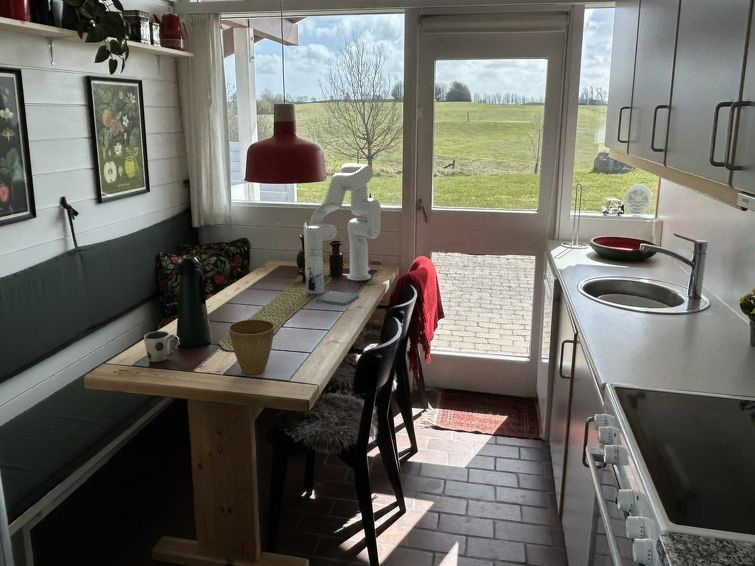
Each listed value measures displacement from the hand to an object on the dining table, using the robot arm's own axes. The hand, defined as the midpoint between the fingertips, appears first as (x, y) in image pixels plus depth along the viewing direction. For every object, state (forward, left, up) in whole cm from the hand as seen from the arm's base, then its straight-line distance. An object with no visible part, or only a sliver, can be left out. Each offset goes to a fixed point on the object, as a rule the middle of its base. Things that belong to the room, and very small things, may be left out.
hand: (314, 288), depth 302 cm
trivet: (+5, +15, -2) cm, 15 cm away
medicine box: (0, 0, -3) cm, 3 cm away
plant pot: (+91, +27, -3) cm, 95 cm away
